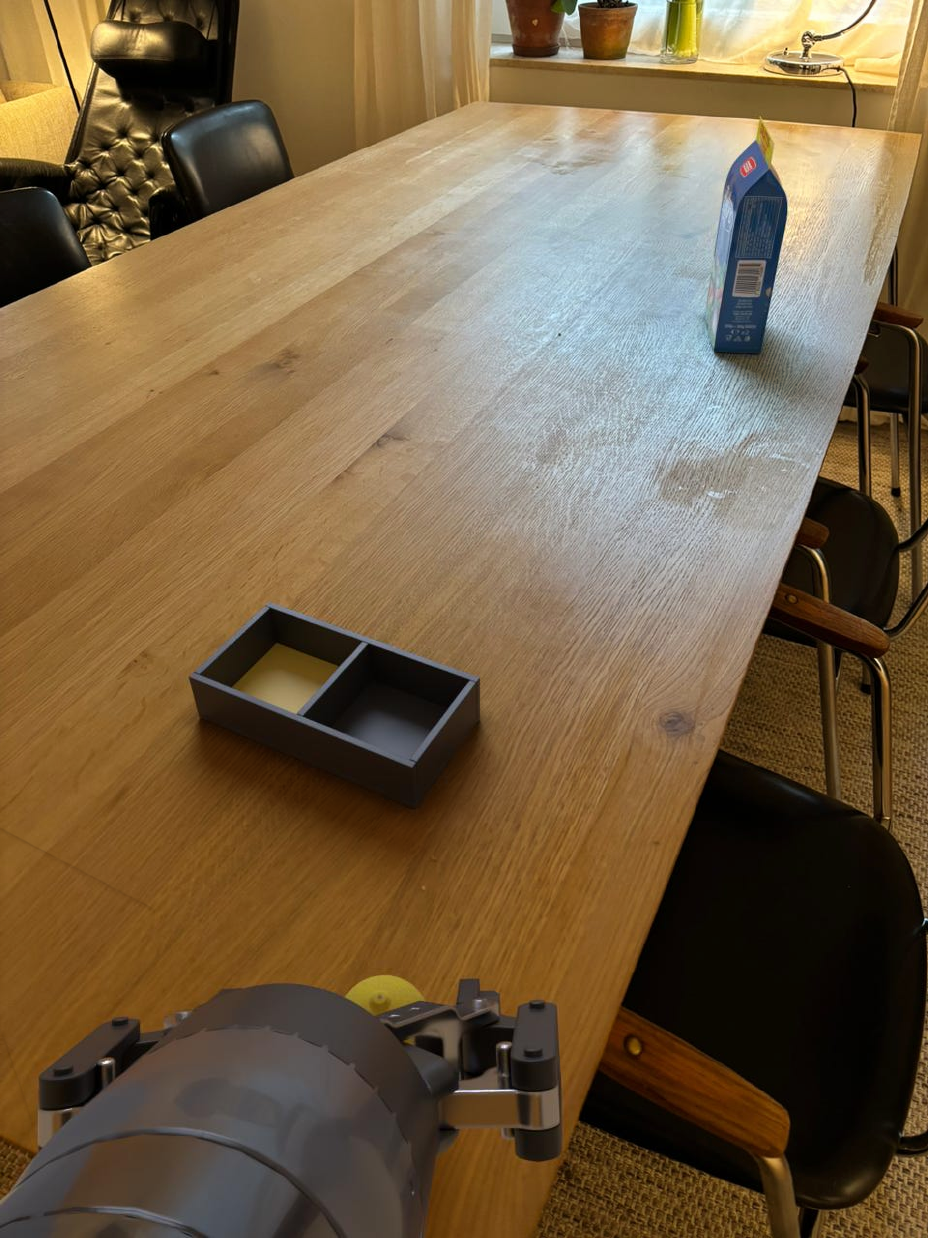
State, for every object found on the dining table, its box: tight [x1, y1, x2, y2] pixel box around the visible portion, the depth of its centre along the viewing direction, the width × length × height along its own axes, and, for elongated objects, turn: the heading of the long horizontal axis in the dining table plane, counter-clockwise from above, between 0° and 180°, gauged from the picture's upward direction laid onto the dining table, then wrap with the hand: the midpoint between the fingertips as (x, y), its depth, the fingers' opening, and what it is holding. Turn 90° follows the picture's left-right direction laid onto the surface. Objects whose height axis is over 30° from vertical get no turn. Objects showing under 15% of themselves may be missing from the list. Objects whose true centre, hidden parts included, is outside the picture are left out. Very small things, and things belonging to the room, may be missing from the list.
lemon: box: [344, 974, 427, 1045], centre depth 54 cm, size 6×6×8 cm
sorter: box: [188, 601, 481, 810], centre depth 77 cm, size 10×20×4 cm, turn 62°
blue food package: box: [704, 116, 789, 354], centre depth 123 cm, size 6×12×25 cm, turn 175°
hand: (352, 1012), depth 36 cm, fingers open, 8 cm apart
